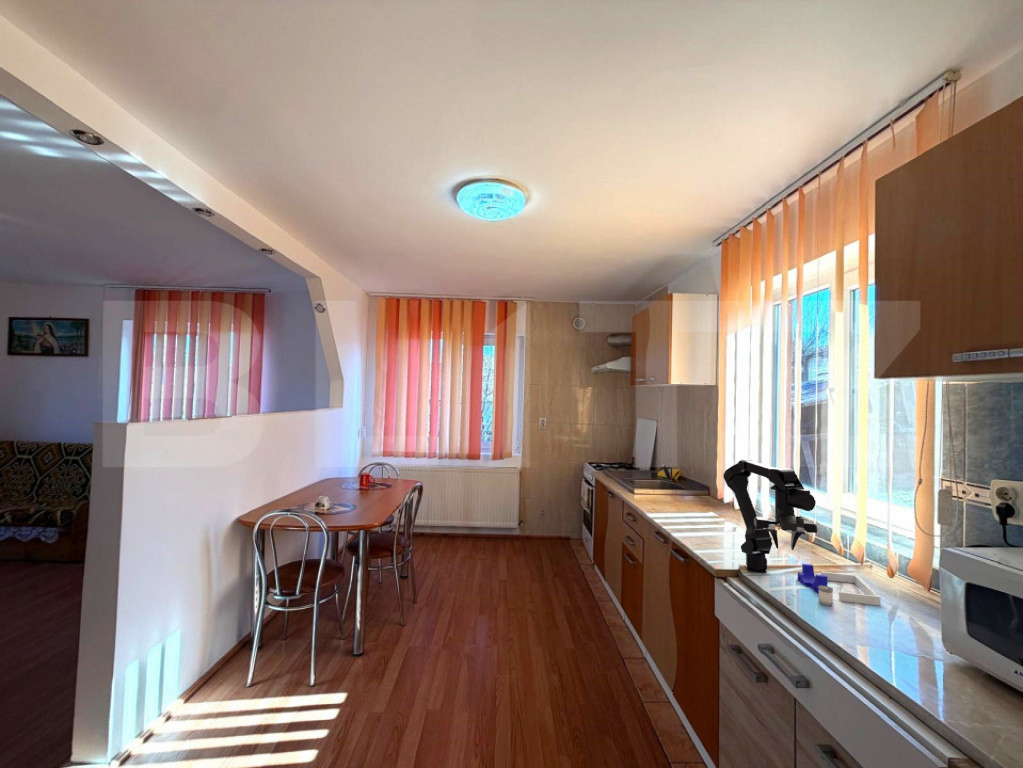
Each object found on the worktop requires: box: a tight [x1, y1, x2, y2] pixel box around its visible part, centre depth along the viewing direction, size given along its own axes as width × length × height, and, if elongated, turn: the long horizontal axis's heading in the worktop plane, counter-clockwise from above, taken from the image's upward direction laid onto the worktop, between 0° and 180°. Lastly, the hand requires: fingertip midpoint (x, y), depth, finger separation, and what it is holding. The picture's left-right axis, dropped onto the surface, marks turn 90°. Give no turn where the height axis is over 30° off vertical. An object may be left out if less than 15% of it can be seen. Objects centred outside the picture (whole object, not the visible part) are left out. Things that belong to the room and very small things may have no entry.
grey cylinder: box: [818, 585, 834, 607], centre depth 149 cm, size 4×4×5 cm
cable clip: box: [797, 563, 829, 595], centre depth 163 cm, size 12×4×6 cm, turn 170°
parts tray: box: [820, 570, 881, 606], centre depth 159 cm, size 11×20×3 cm, turn 161°
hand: (784, 549), depth 165 cm, fingers open, 4 cm apart
